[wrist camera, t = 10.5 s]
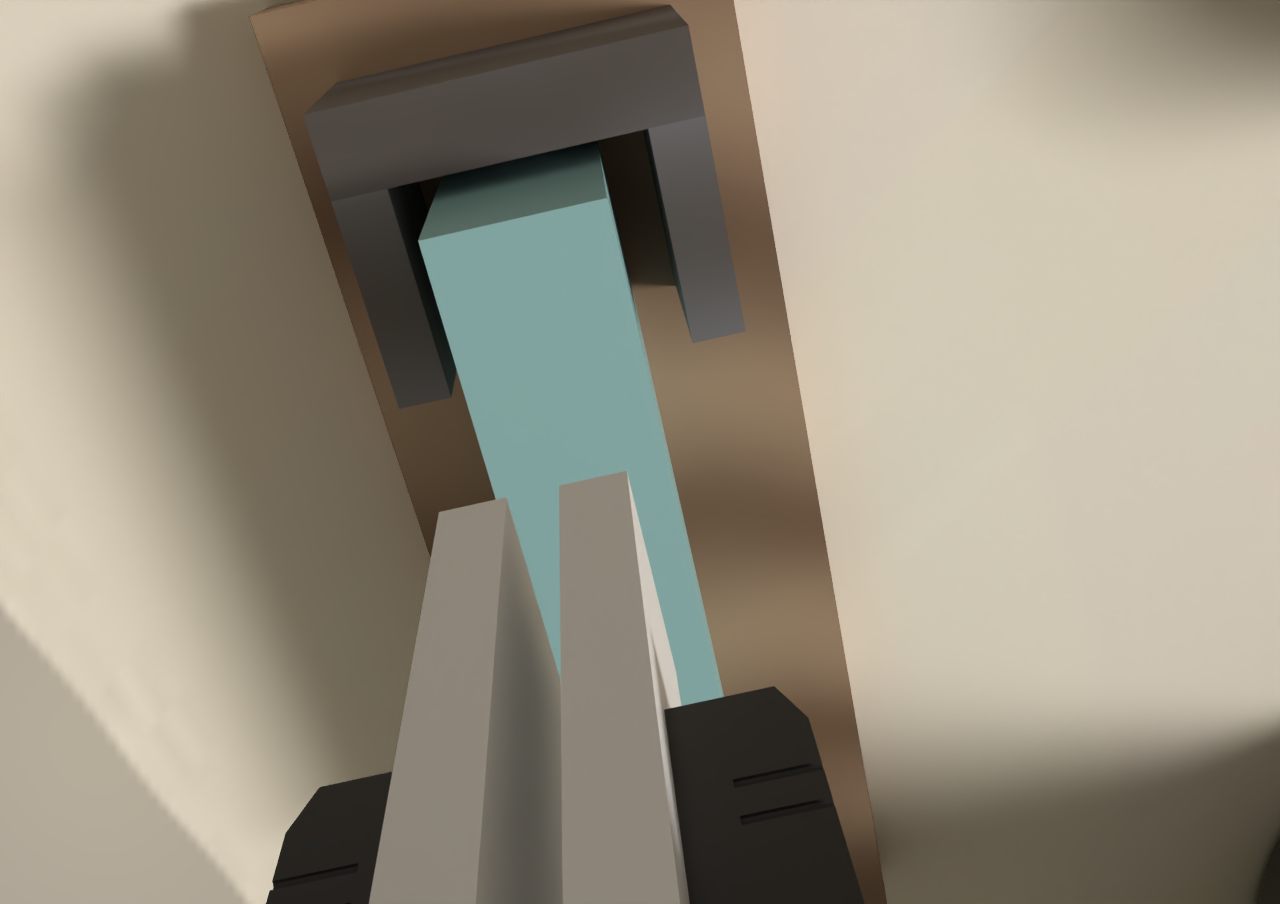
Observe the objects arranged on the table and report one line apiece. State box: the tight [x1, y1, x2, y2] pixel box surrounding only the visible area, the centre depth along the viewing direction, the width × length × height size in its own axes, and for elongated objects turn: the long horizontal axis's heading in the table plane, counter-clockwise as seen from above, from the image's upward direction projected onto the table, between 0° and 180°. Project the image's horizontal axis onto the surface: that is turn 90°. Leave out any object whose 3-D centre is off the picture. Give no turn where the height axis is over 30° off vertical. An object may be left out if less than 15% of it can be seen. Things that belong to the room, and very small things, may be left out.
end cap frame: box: [249, 0, 887, 904], centre depth 28 cm, size 26×9×5 cm, turn 12°
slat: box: [418, 140, 724, 706], centre depth 25 cm, size 18×3×6 cm, turn 12°
